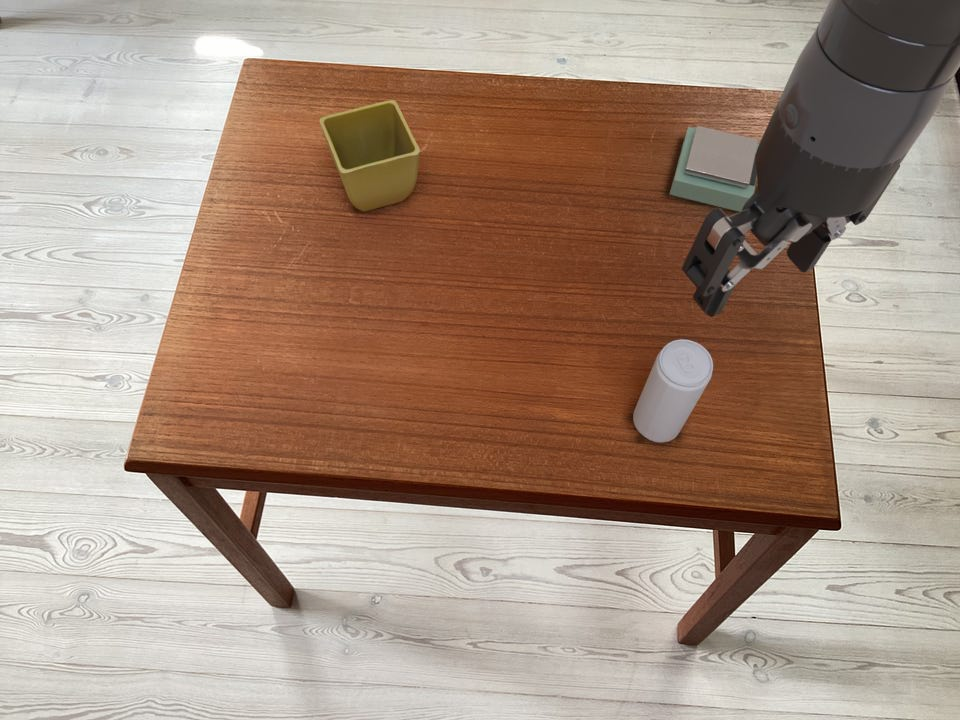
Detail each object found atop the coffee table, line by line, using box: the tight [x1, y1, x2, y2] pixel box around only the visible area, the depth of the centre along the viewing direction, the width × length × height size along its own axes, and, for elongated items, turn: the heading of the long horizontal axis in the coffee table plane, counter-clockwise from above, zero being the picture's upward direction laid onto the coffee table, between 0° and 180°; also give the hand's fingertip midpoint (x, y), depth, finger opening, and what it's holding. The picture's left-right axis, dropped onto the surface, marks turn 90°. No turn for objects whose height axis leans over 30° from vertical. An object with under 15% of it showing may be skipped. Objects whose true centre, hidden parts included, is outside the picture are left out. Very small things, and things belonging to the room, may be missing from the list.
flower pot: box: [319, 99, 421, 213], centre depth 86 cm, size 9×9×9 cm
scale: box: [669, 126, 760, 213], centre depth 90 cm, size 9×9×3 cm
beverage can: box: [632, 338, 714, 444], centre depth 70 cm, size 5×5×12 cm
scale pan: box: [685, 125, 759, 188], centre depth 89 cm, size 7×7×1 cm
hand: (753, 284), depth 57 cm, fingers open, 8 cm apart
